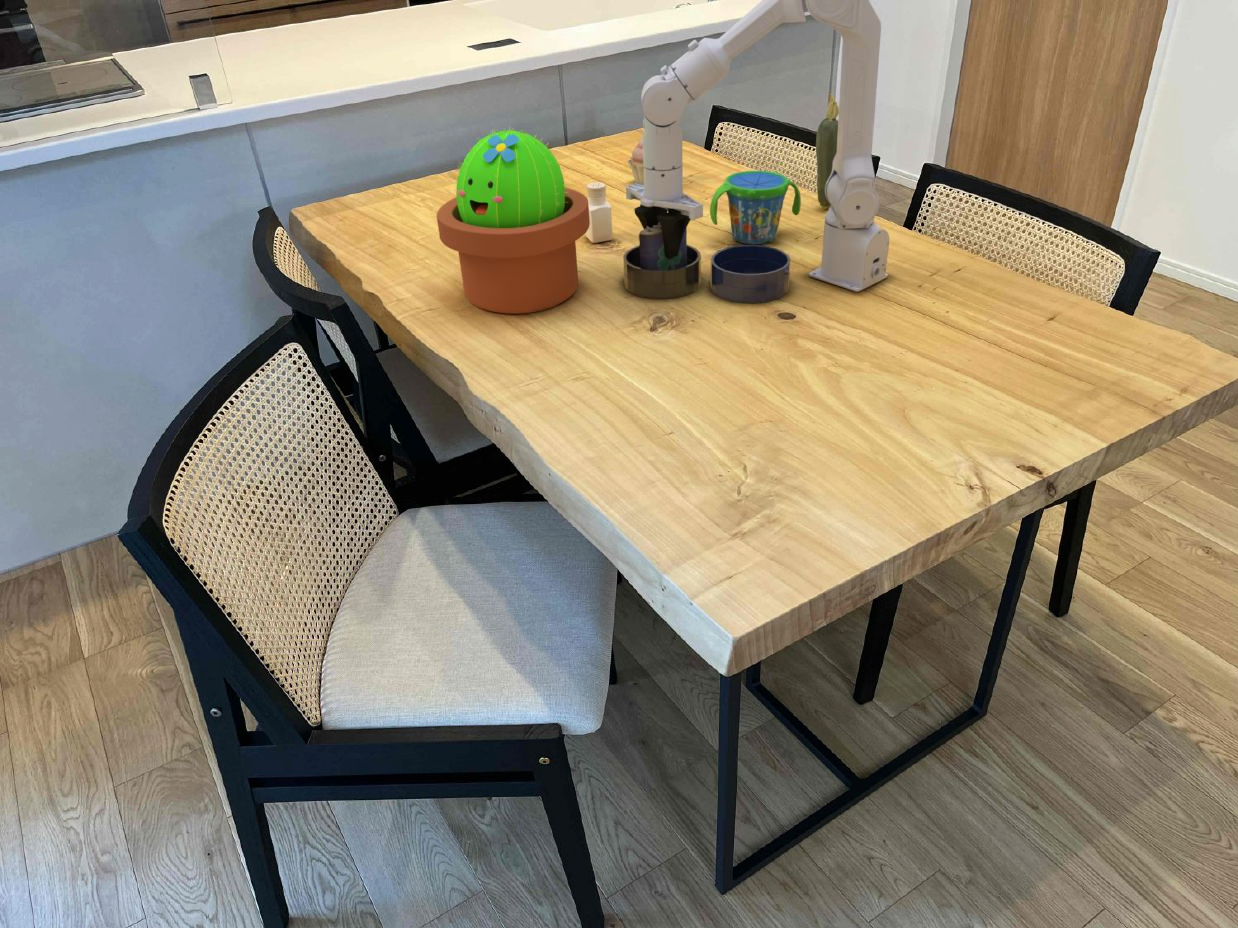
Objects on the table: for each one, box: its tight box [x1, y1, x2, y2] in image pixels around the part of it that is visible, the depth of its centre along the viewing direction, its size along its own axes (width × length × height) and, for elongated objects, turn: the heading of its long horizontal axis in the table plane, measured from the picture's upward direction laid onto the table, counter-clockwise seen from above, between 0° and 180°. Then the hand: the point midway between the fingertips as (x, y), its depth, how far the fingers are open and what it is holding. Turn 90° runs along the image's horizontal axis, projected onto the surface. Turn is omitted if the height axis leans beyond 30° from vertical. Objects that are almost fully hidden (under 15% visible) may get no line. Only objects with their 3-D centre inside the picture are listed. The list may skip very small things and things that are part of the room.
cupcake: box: [626, 137, 644, 185], centre depth 184 cm, size 9×9×10 cm
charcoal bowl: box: [622, 244, 702, 300], centre depth 145 cm, size 12×12×4 cm
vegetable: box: [815, 93, 839, 210], centre depth 165 cm, size 4×4×20 cm
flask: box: [638, 223, 688, 270], centre depth 143 cm, size 9×3×11 cm, turn 131°
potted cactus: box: [436, 126, 590, 315], centre depth 139 cm, size 22×22×25 cm
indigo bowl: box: [709, 244, 792, 304], centre depth 142 cm, size 12×12×4 cm
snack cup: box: [709, 170, 802, 245], centre depth 158 cm, size 16×10×10 cm
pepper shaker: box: [585, 181, 614, 244], centre depth 161 cm, size 4×4×10 cm
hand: (664, 253), depth 144 cm, fingers closed on flask, 3 cm apart
